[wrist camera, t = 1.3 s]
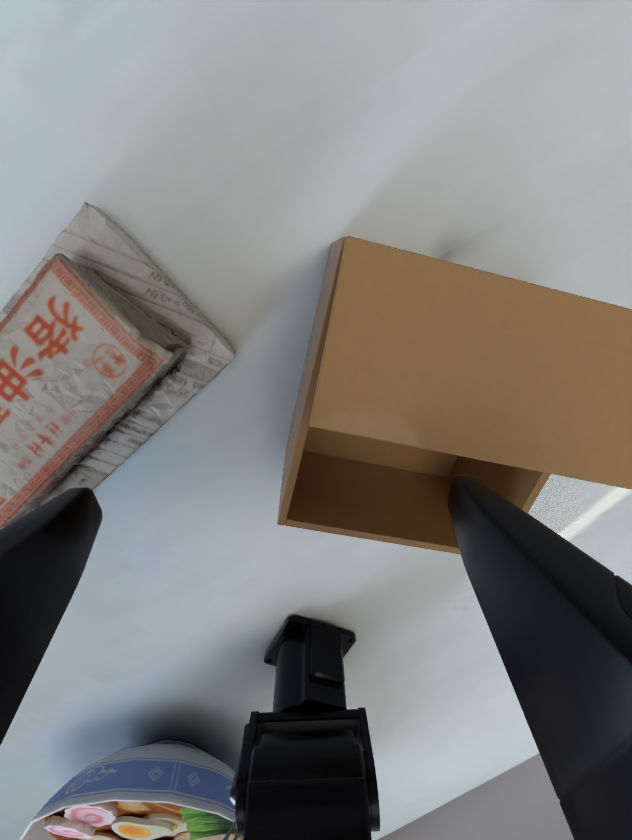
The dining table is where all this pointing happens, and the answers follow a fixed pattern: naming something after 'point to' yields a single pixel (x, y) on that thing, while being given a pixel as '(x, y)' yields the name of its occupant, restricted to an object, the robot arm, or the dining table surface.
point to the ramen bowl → (143, 798)
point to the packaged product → (93, 363)
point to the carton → (376, 468)
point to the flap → (477, 366)
